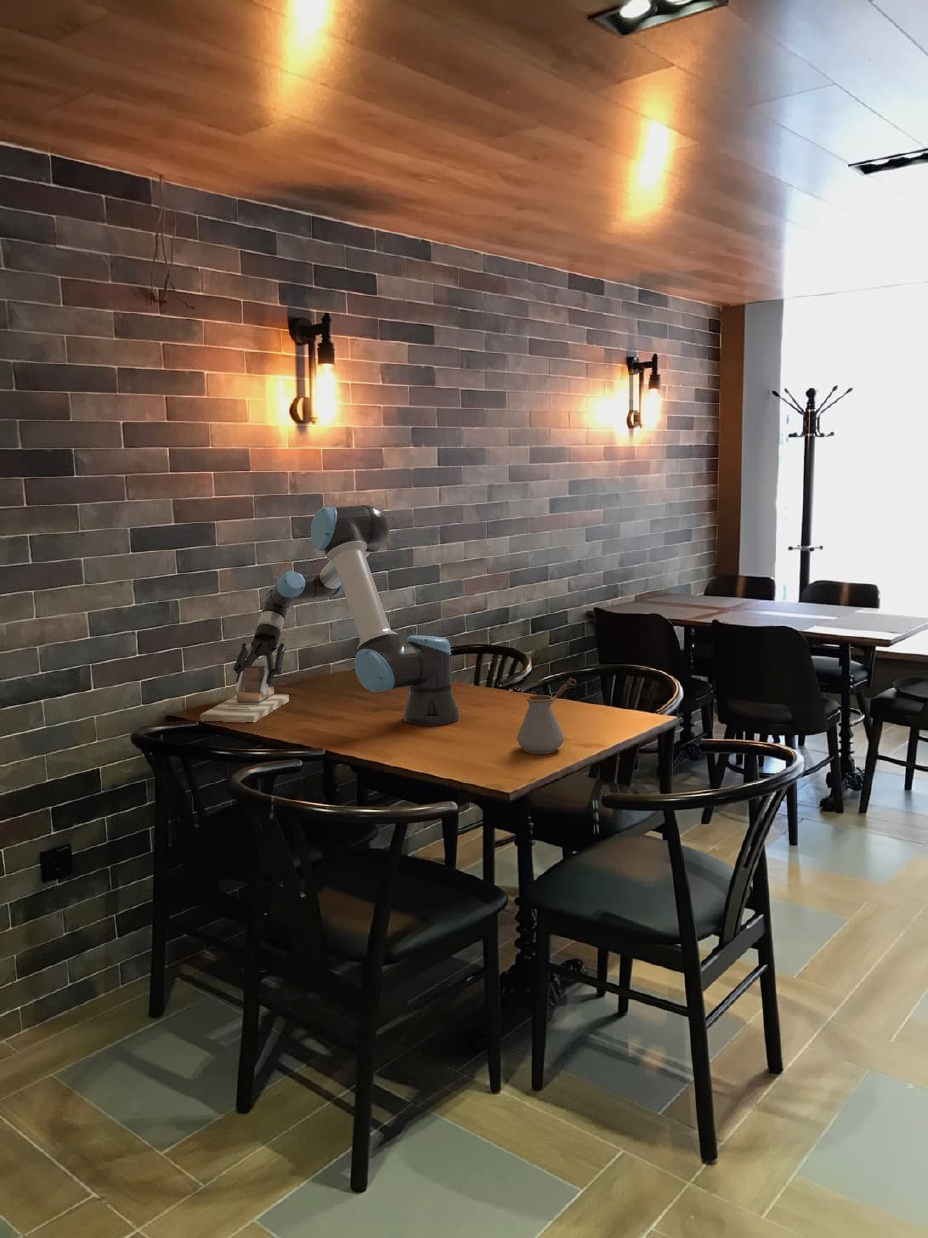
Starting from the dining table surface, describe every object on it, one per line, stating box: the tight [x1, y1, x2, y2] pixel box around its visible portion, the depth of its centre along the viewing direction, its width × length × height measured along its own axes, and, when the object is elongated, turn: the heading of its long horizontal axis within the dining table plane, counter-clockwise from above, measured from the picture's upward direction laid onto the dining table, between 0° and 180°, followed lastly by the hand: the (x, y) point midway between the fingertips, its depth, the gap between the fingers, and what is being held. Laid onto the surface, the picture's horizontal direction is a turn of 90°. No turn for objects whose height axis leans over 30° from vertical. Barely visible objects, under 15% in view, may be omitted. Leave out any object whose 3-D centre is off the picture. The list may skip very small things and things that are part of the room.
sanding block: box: [236, 665, 275, 703], centre depth 292 cm, size 11×7×10 cm, turn 168°
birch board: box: [199, 693, 290, 723], centre depth 286 cm, size 26×16×2 cm, turn 168°
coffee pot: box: [516, 677, 577, 755], centre depth 239 cm, size 21×12×15 cm, turn 143°
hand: (250, 692), depth 288 cm, fingers closed on sanding block, 7 cm apart
